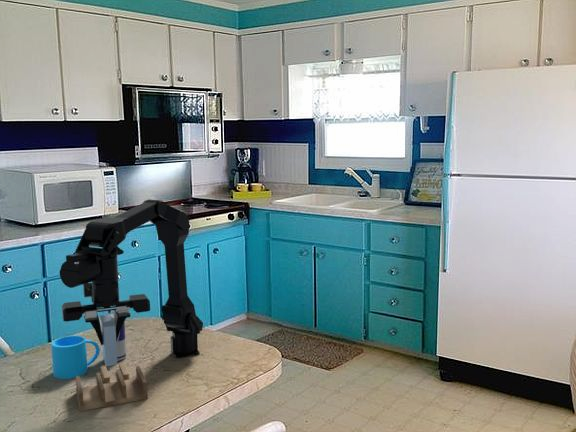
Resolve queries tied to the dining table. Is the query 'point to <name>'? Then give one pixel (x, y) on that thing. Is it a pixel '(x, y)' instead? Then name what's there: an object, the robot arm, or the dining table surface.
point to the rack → (111, 391)
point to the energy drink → (120, 341)
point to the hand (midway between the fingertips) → (108, 343)
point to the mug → (71, 356)
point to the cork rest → (106, 376)
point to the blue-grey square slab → (108, 340)
